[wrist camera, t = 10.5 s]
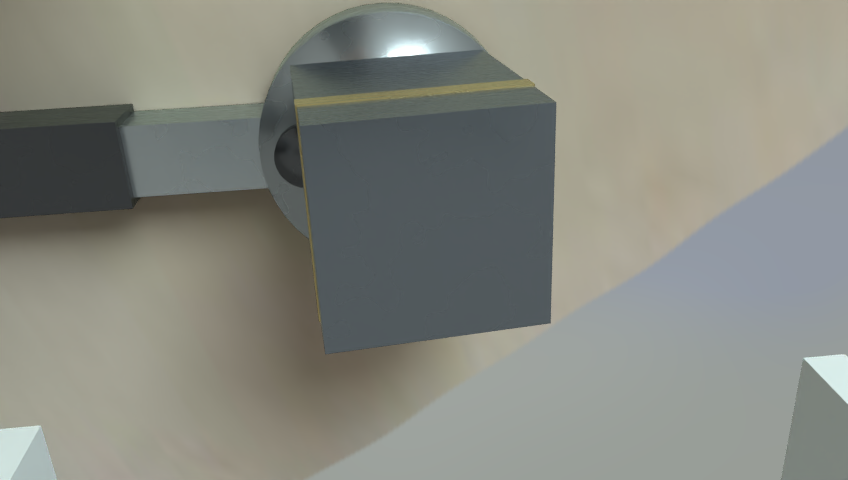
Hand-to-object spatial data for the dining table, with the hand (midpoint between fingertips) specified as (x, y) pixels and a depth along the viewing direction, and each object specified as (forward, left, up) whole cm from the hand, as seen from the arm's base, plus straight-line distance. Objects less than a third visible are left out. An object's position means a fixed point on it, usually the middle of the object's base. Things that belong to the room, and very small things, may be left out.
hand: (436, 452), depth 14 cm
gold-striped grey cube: (0, 0, -18) cm, 18 cm away
